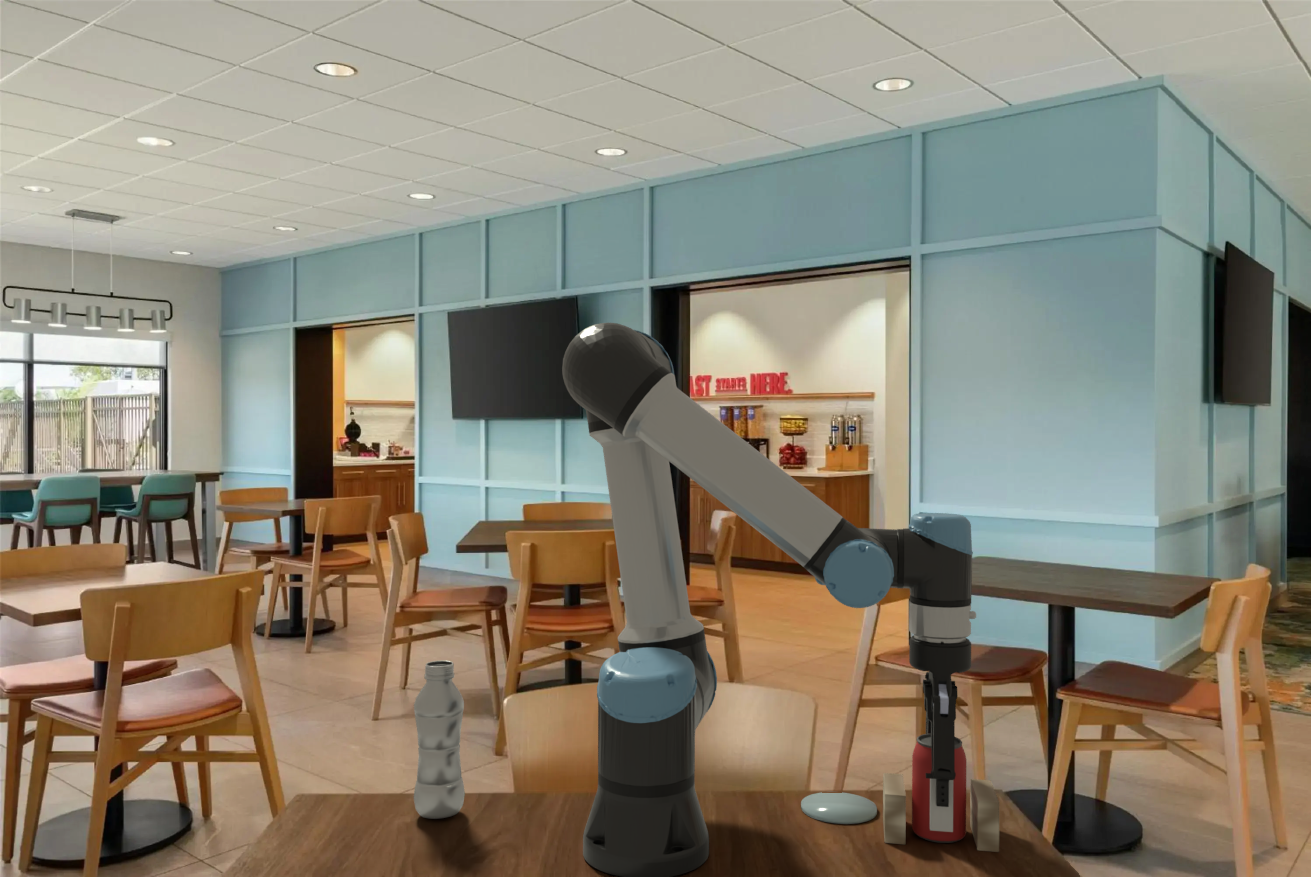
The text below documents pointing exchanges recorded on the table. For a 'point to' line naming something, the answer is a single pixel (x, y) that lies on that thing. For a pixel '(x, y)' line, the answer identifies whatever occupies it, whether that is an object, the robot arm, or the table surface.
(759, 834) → the table surface
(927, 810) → the beer can
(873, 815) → the coaster
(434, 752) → the plastic bottle
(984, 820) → the block
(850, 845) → the table surface
